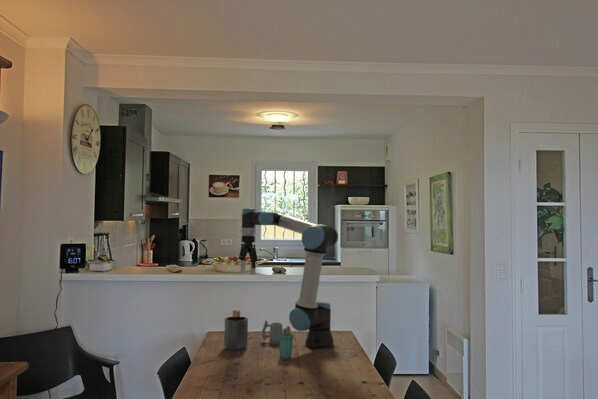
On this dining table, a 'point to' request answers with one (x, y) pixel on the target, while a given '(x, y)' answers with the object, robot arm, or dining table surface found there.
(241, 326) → the press body
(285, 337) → the cup
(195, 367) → the dining table surface
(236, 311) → the plunger
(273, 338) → the mug
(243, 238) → the robot arm
